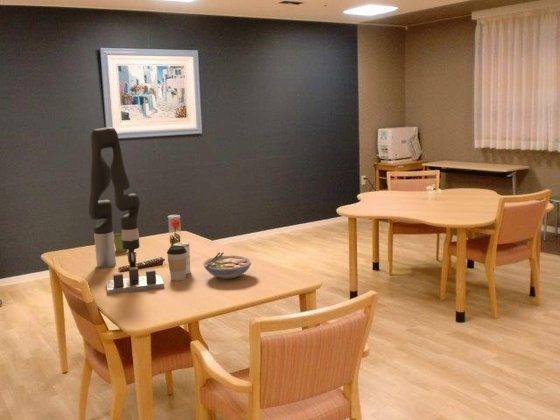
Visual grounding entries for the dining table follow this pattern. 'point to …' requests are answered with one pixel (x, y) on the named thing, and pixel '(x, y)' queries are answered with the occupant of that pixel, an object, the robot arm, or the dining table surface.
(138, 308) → the dining table surface
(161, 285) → the panel
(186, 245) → the syrup box
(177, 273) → the coffee cup
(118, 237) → the plant pot
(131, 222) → the robot arm
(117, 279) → the block
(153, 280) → the block
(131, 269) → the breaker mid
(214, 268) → the ramen bowl
